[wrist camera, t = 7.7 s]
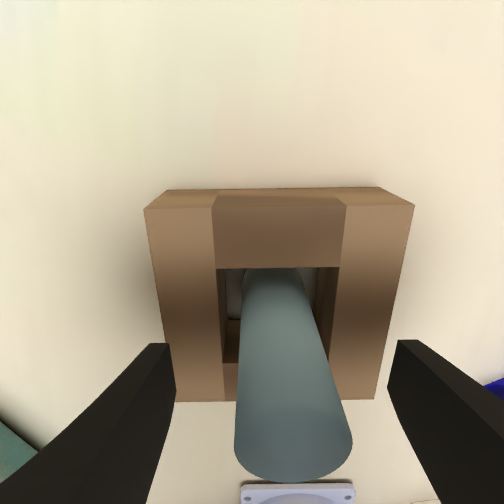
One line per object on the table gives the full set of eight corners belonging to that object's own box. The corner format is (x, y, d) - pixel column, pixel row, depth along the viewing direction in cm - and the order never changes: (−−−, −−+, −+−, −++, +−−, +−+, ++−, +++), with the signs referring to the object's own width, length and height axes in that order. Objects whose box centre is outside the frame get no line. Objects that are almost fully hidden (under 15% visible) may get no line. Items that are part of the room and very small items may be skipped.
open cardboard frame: (352, 352, 16) (373, 399, 13) (188, 354, 16) (175, 402, 13) (378, 187, 12) (414, 204, 10) (166, 190, 12) (143, 208, 10)
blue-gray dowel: (297, 306, 15) (342, 484, 8) (242, 304, 15) (233, 482, 7) (303, 256, 14) (362, 407, 6) (243, 254, 14) (235, 404, 6)
